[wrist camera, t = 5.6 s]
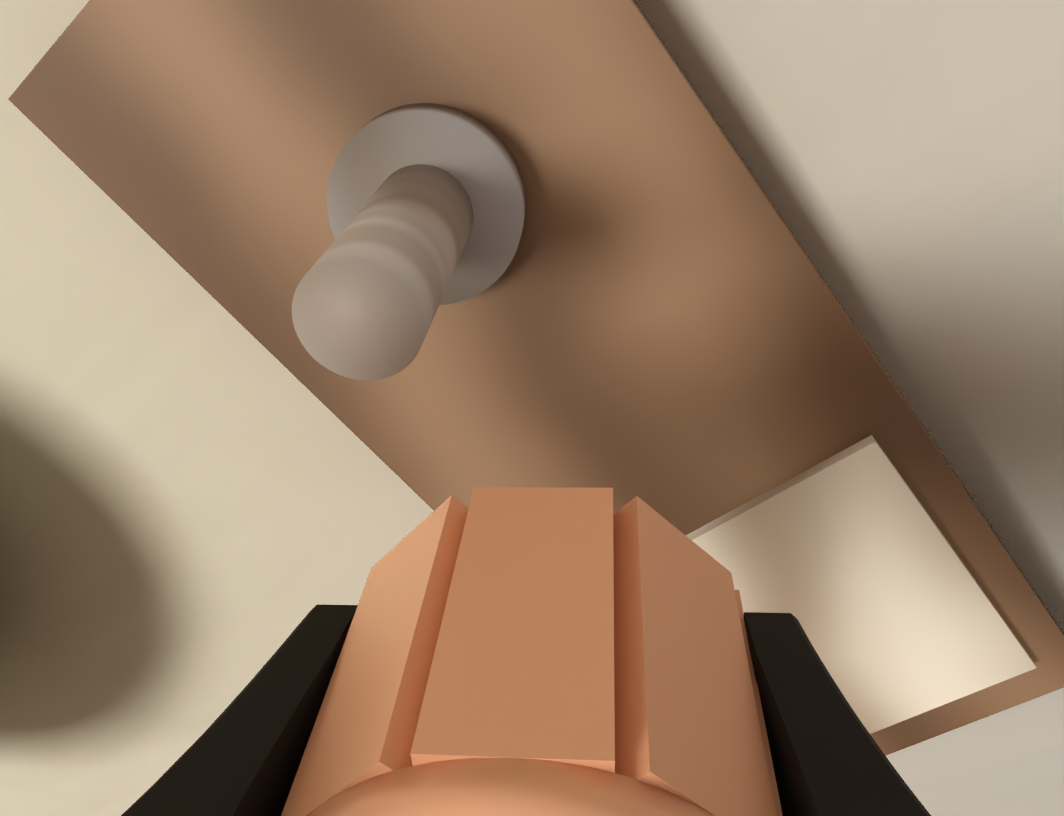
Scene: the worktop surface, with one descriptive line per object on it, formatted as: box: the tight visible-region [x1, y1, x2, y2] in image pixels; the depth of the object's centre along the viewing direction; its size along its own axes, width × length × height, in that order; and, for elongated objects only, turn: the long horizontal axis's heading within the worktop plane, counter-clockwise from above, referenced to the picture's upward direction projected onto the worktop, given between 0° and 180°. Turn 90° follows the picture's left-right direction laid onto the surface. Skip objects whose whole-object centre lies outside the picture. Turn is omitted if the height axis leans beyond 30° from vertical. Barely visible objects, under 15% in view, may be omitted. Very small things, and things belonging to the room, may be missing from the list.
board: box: [9, 0, 1064, 756], centre depth 18 cm, size 11×28×8 cm, turn 39°
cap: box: [281, 487, 783, 816], centre depth 10 cm, size 5×5×5 cm
